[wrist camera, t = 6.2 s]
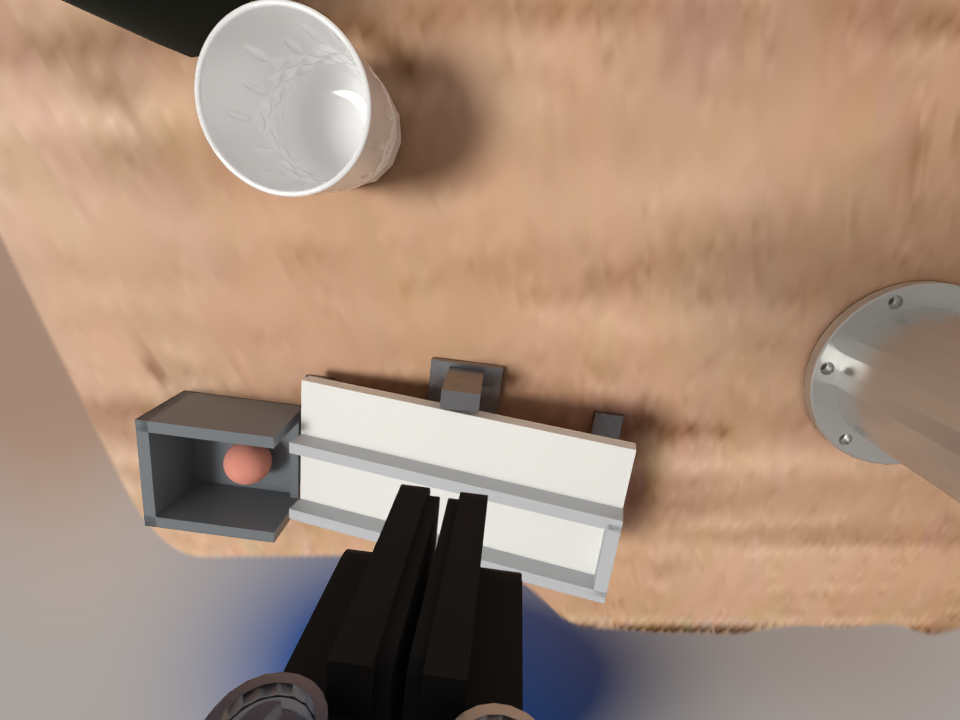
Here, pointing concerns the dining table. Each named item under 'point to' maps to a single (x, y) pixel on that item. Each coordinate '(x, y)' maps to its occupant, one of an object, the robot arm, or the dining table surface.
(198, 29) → the wine bottle
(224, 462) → the ball
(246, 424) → the grey open cubby box
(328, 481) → the seesaw
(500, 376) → the stand
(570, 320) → the dining table surface
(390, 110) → the white cup
